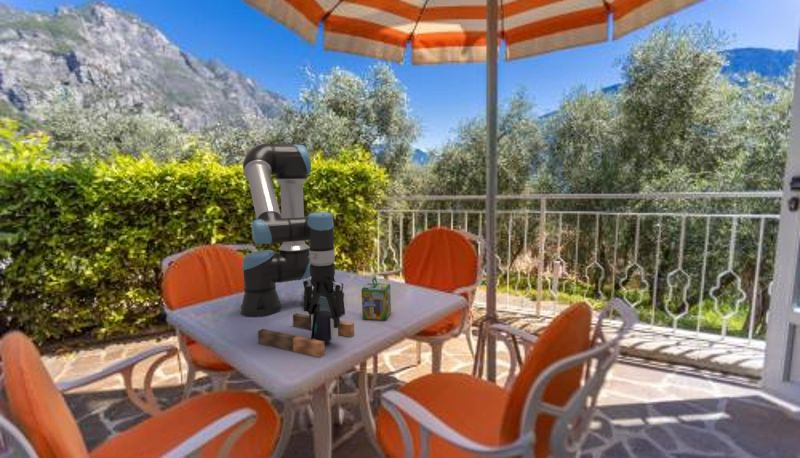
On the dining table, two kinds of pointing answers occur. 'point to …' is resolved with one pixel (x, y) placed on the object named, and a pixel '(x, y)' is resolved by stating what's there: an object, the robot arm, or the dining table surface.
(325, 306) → the flower pot
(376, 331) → the dining table surface
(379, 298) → the chalk box
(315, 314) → the speaker
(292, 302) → the dining table surface
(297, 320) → the channel
